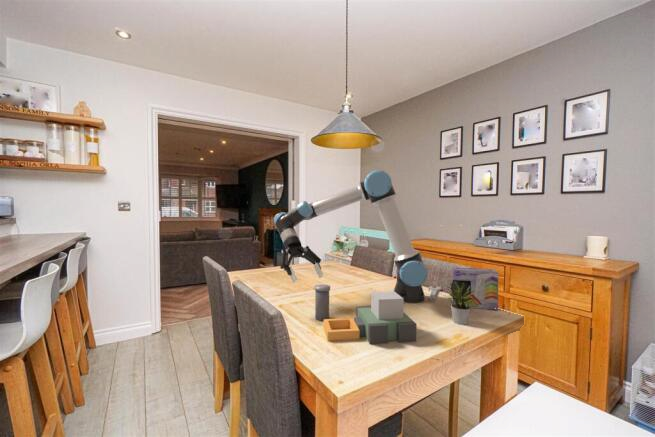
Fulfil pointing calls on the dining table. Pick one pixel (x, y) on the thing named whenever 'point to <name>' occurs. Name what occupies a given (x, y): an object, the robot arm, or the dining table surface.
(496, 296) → the cake pan box
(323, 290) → the grey flared cylinder
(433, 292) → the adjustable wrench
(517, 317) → the dining table surface
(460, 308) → the house plant
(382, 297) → the green corner-block plate
